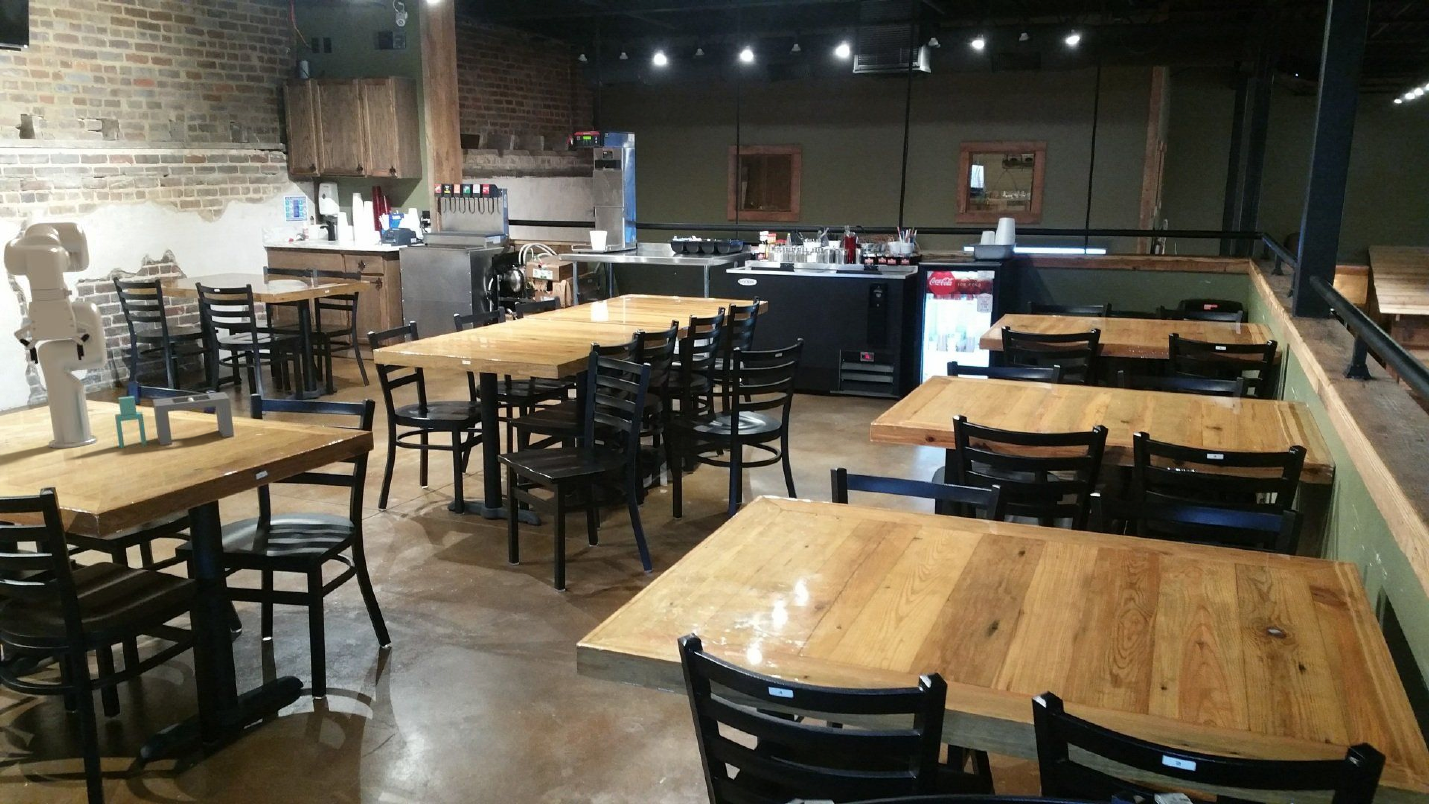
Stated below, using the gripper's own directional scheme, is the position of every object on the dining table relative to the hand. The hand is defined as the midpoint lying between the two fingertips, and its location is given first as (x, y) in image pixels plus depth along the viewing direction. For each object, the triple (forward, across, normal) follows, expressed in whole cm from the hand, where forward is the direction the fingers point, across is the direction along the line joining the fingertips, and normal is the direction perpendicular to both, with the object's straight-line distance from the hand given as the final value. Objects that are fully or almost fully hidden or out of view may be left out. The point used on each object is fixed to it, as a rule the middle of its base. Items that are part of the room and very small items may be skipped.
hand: (58, 361), depth 267 cm
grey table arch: (+31, -32, -31) cm, 54 cm away
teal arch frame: (+31, -15, -31) cm, 46 cm away
